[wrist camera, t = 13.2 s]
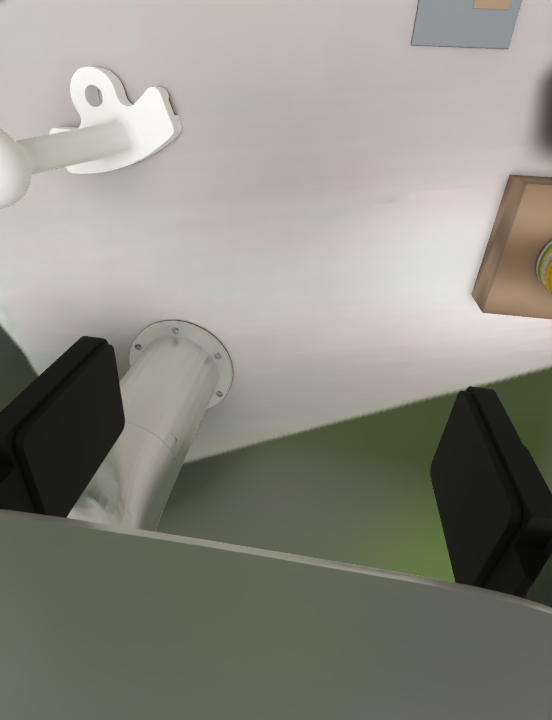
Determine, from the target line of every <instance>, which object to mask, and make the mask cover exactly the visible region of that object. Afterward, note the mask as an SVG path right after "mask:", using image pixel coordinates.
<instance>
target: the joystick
mask: <svg viewBox="0 0 552 720" xmlns="http://www.w3.org/2000/svg"><path fill="white" fill-rule="evenodd" d="M98 89H100V91H101V93H102V96H103V101H102V103H101V102H100V100H99V98H98ZM70 93H71V98H72V101H73V103H74V105H75V107H76V109H77V110H78V112H79V114H80V117H81V124H80V126H79V127H78V128H76V127H58V128H53V129H51V131H50V134H49V135H44V136H39V137H34V138H29V139H24V140H19V141H15V140H14V139H13V138H12V137H11V136H10V135H8V134H7V133H6V132H4V131H3V130H1V129H0V208H5V207H8V206H11V205H13V204H15V203H16V202H18V201H19V200H20V199H21V198H22V197H23V196H24V195H25V193H26V192H27V190H28V187H29V184H30V179H31V174H36V173H40V172H44V171H49V170H53V169H58V168H62V167H66V169H67V170H68V171H69V172H71V173H78V174H89V173H100V172H106V171H111V170H115V169H119V168H122V167H125V166H128V165H131V164H134V163H136V162H139V161H141V160H144V159H146V158H148V157H150V156H151V155H153V154H155V153H157V152H158V151H160V150H161V149H163V148H164V147H165V146H167V145H168V144H169V143H170V142H172V141H173V140H174V139H175V138H176V137H177V136H178V135H179V134H180V133H181V131H182V124H181V122H180V119H179V116H178V115H174V113H173V110H172V108H171V105H170V102H169V100H168V99H169V98H170V97H169V95H168V92H167V91H166V90H165V89H164V88H162V87H149V88H148V89H147V90H146V91H145V93H144V94H143V95H142V96H141V97H140V98H139V100H138V101H137V102H136V103H135V104H131V103H130V102H129V101H128V99H127V97H126V94H125V90H124V87H123V85H122V83H121V82H120V80H119V79H118V78H117V76H116V75H115V74H113V73H112V72H111V71H109V70H107V69H104V68H98V67H83V68H80V69H79V70H77V71H76V72H75V74H74V75H73V77H72V80H71V84H70Z"/></svg>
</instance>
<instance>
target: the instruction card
mask: <svg viewBox="0 0 552 720" xmlns="http://www.w3.org/2000/svg"><path fill="white" fill-rule="evenodd" d="M521 2H522V0H419V3H418V8H417V14H416V20H415V26H414V31H413V37H412V43H411V45H421V46H447V47H473V48H499V49H508V48H509V45H510V41H511V38H512V34H513V31H514V27H515V23H516V20H517V16H518V12H519V9H520V5H521Z"/></svg>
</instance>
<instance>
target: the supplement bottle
mask: <svg viewBox="0 0 552 720" xmlns="http://www.w3.org/2000/svg"><path fill="white" fill-rule="evenodd" d="M536 271H537V276H538V279H539V280H540V282H541V283H542V284H543V286H544V287H545V288H546V289H547V290H548V291H550V292H551V293H552V241H551V242H549V243H548V244H547V245H546V247H545V248H544V249H543V250H542V252H541V254H540V256H539V258H538V261H537V266H536Z"/></svg>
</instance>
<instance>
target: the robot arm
mask: <svg viewBox="0 0 552 720" xmlns="http://www.w3.org/2000/svg"><path fill="white" fill-rule="evenodd" d="M129 363H130V369H129V370H128V371H127V373H126V374H125V375H124V376H123V378H122V379H121V380H120V382H119V378H118V372H117V365H116V359H115V353H114V348H113V346H112V345H109V344H108V342H107V340H106V339H103V338H96V337H88V336H83V337H81V338H80V339H79V340H78V341H77V342H76V343H74V344H73V345H72V346H71V347H70V348H69V349H68V350H67V351H66V352H65V353H64V354H63V355H62V356H60V357H59V358H58V359H57V360H56V361H55V362H54V363H53V364H52V365H51V366H50V367H49V368H47V369H46V370H45V371H44V372H43V373H42V374H41V375H40V376H39V377H38V378H37V379H36V380H35V381H34V382H32V383H31V384H30V385H29V386H28V387H27V388H26V389H25V390H24V391H23V392H22V393H21V394H19V395H18V396H17V397H16V398H15V399H14V400H13V401H12V402H11V403H10V404H9V405H7V406H6V407H5V408H4V409H3V410H2V411H1V412H0V720H552V494H551V492H550V490H549V488H548V486H547V485H546V483H545V481H544V479H543V477H542V475H541V473H540V471H539V470H538V467H537V466H536V464H535V462H534V460H533V458H532V456H531V454H530V452H529V451H528V449H527V448H526V447H525V446H524V445H523V444H522V442H521V440H520V438H519V436H518V434H517V432H516V430H515V428H514V426H513V425H512V423H511V421H510V419H509V417H508V415H507V413H506V411H505V409H504V407H503V406H502V404H501V402H500V400H499V398H498V396H497V394H496V392H495V391H494V390H493V389H486V388H479V387H472V386H470V387H468V388H467V389H466V391H460V392H459V393H458V395H457V398H456V401H455V403H454V406H453V409H452V411H451V414H450V416H449V419H448V422H447V424H446V427H445V429H444V432H443V435H442V437H441V440H440V443H439V445H438V448H437V451H436V453H435V456H434V459H433V461H432V464H431V471H430V475H431V480H432V485H433V489H434V493H435V497H436V501H437V506H438V510H439V514H440V518H441V522H442V527H443V531H444V535H445V540H446V544H447V548H448V552H449V557H450V560H451V565H452V569H453V574H454V577H455V582H456V583H454V582H449V581H444V580H438V579H433V578H427V577H422V576H417V575H411V574H406V573H400V572H394V571H388V570H382V569H376V568H371V567H365V566H359V565H353V564H347V563H341V562H335V561H329V560H323V559H317V558H312V557H306V556H299V555H293V554H288V553H282V552H276V551H269V550H263V549H257V548H251V547H244V546H238V545H233V544H226V543H221V542H214V541H208V540H202V539H196V538H190V537H184V536H177V535H171V534H165V533H159V532H155V530H156V528H157V525H158V522H159V519H160V516H161V513H162V511H163V509H164V506H165V504H166V501H167V499H168V496H169V494H170V492H171V489H172V487H173V485H174V483H175V480H176V478H177V475H178V473H179V471H180V469H181V466H182V464H183V462H184V459H185V457H186V455H187V453H188V450H189V448H190V446H191V443H192V441H193V439H194V437H195V434H196V432H197V430H198V427H199V425H200V423H201V420H202V418H203V416H204V414H205V411H206V409H209V408H212V407H213V406H215V405H217V404H218V403H219V402H220V401H222V400H223V399H224V397H225V396H226V394H227V393H228V391H229V389H230V386H231V383H232V378H233V368H232V364H231V360H230V358H229V356H228V353H227V351H226V350H225V349H224V347H223V346H222V344H221V343H220V342H219V341H218V340H217V339H216V338H215V337H214V336H212V335H211V334H210V333H208V332H207V331H206V330H204V329H202V328H200V327H198V326H196V325H193V324H190V323H187V322H181V321H162V322H158V323H155V324H152V325H150V326H148V327H147V328H145V329H144V330H143V331H142V332H141V333H140V334H139V335H138V336H137V337H136V338H135V340H134V342H133V343H132V345H131V349H130V352H129Z"/></svg>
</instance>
